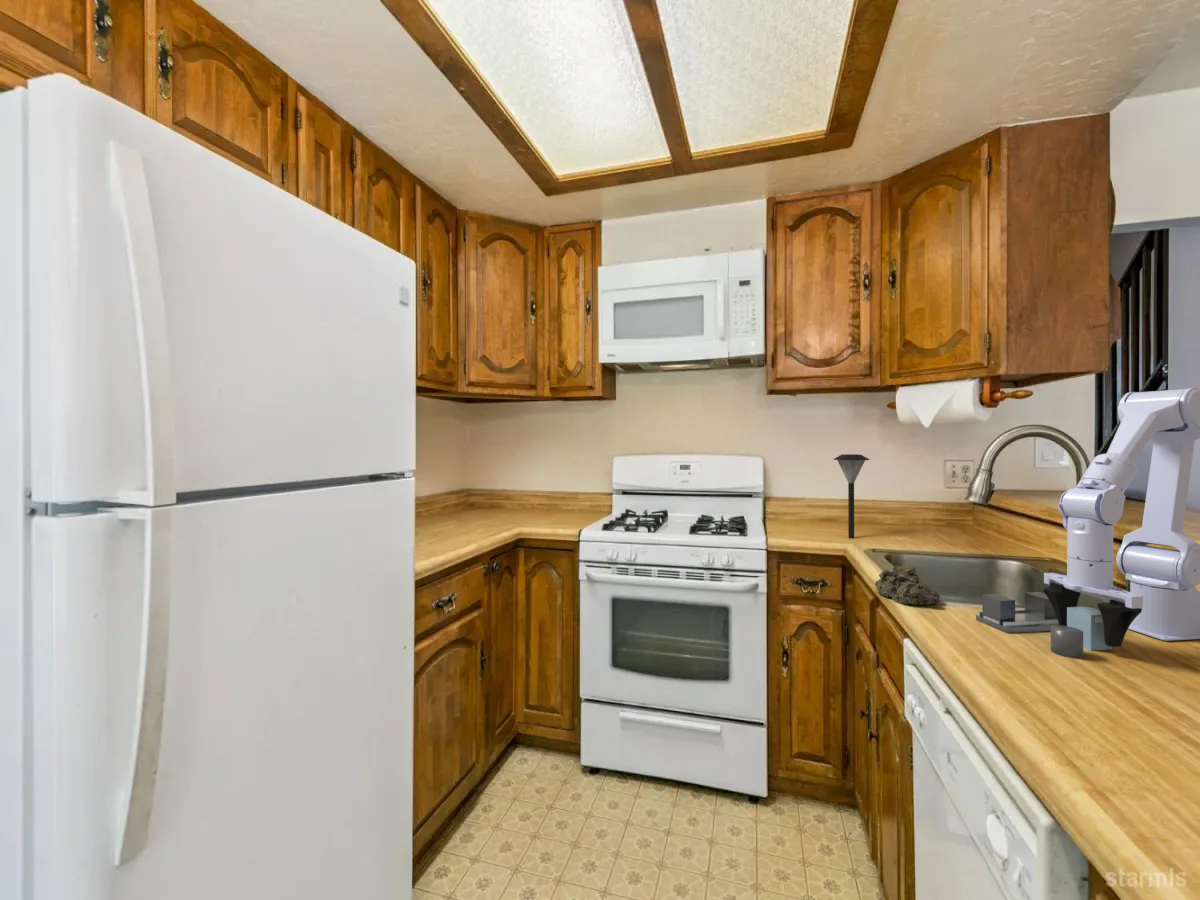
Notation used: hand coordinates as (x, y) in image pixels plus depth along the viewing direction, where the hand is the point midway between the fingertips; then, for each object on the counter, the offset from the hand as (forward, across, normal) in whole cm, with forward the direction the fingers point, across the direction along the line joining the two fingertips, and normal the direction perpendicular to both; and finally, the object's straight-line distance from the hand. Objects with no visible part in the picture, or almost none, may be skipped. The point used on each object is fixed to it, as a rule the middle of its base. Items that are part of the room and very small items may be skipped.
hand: (1089, 636), depth 88 cm
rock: (+2, -28, -13) cm, 31 cm away
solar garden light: (+2, -94, +15) cm, 96 cm away
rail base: (+1, -10, -3) cm, 11 cm away
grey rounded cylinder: (+2, +2, -7) cm, 8 cm away
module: (+2, 0, 0) cm, 2 cm away
